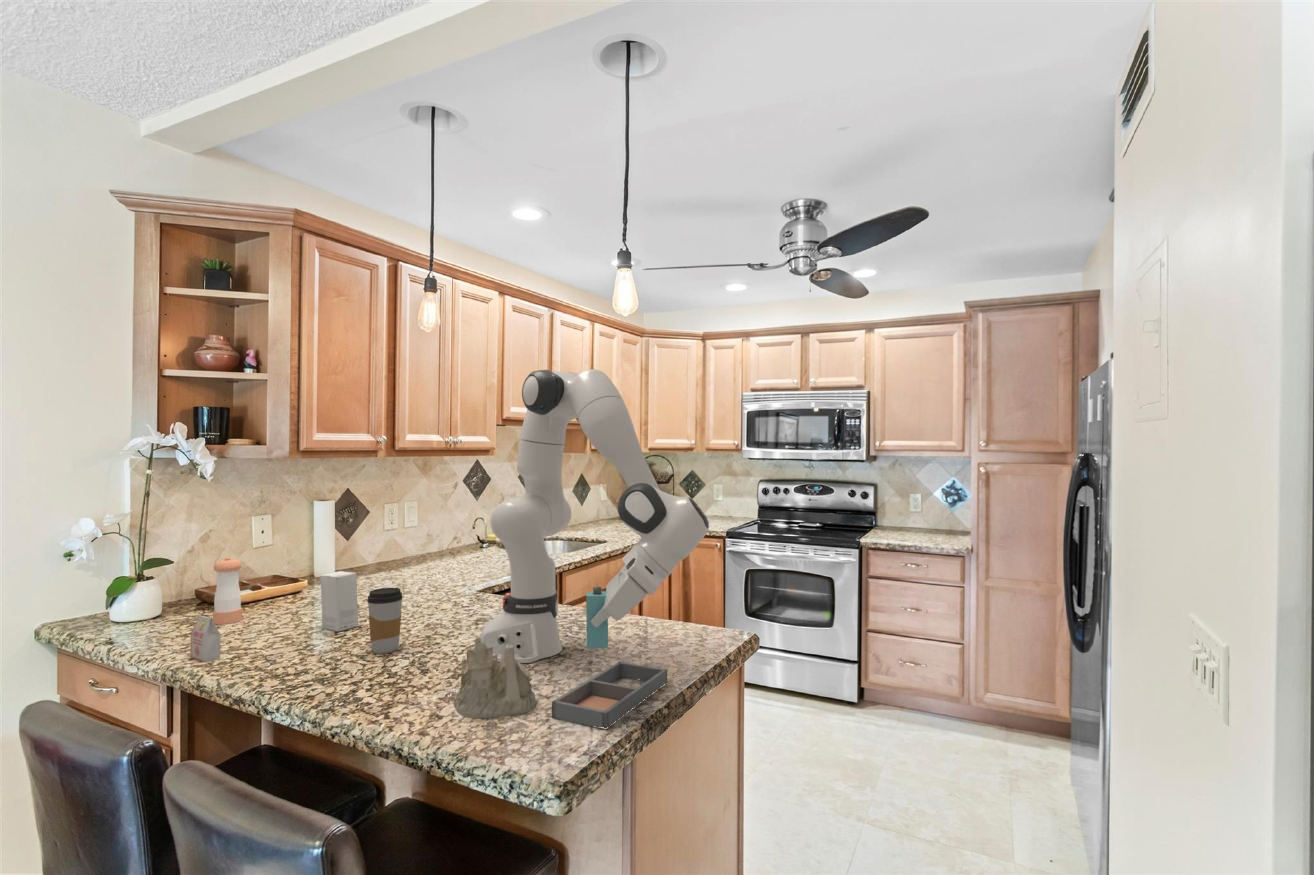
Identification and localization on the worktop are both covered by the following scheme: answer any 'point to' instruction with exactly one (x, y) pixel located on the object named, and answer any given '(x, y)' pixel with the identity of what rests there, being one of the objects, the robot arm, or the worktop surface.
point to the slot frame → (607, 695)
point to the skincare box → (339, 601)
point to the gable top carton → (205, 640)
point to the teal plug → (594, 604)
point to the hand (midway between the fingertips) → (594, 620)
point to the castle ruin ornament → (493, 684)
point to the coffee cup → (385, 619)
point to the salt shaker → (227, 592)
